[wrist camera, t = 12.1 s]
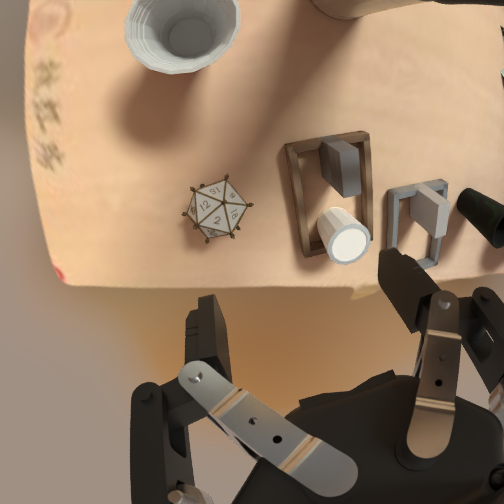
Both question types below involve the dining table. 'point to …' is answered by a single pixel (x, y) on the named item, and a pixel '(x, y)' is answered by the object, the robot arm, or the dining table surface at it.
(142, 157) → the dining table surface
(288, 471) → the robot arm
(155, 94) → the dining table surface
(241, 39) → the dining table surface
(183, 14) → the plastic cup
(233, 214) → the game die
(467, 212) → the cup
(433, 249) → the grey hollow rectangular frame
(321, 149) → the wooden picture frame
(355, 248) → the white cylinder
